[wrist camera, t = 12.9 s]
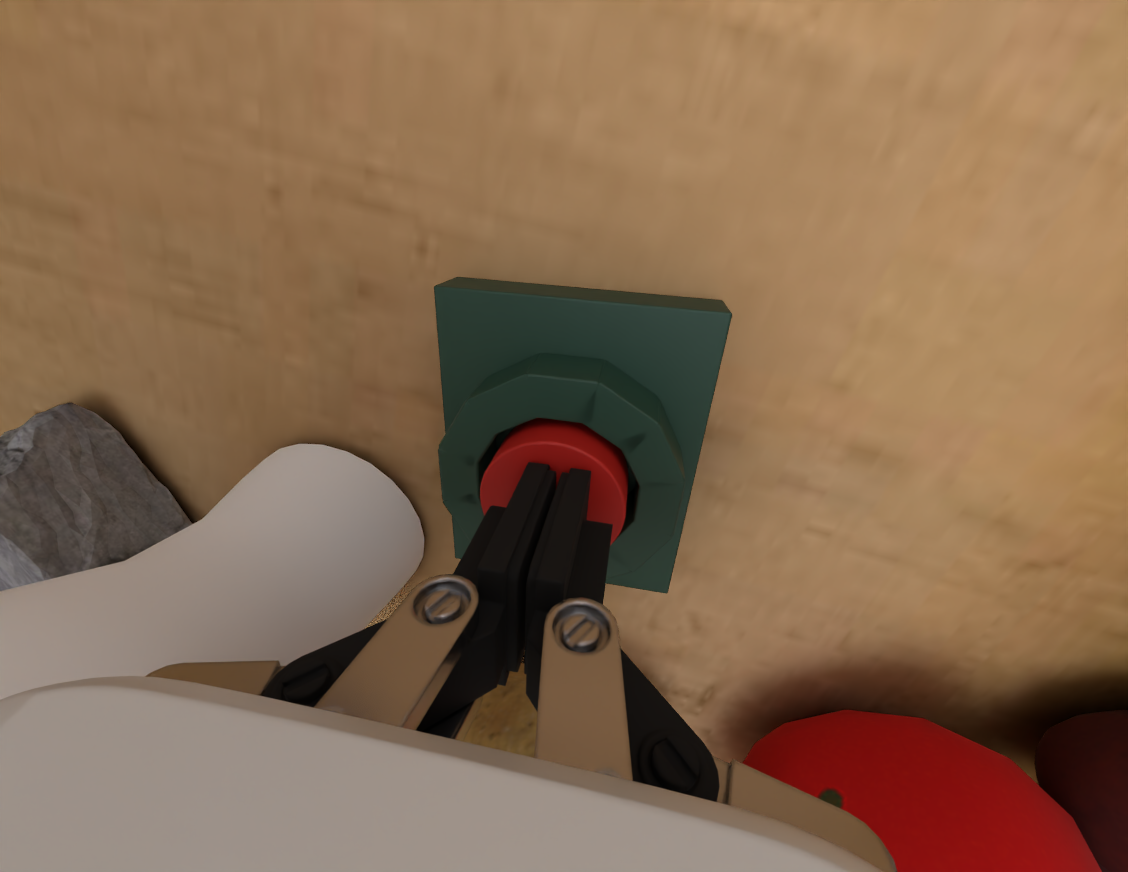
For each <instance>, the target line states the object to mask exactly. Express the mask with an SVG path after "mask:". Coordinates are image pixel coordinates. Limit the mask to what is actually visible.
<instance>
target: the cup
mask: <svg viewBox="0 0 1128 872" xmlns="http://www.w3.org/2000/svg"><path fill="white" fill-rule="evenodd" d="M423 552H424V535H423V531H422V527H421V523H420V519H419V517H418V516H417V514H416V512H415V510H414V508H413V506H412V505H411V503H410V501H409V499H408V498H407V497H406V496H405V495H404V493H403V492H402V491H401V490H400V489H399V488H398V487H397V485H396V484H395V483H394V482H393V481H392V480H391V479H390V478H389V477H387V476H386V475H385V474H383V473H382V472H381V471H380V470H378V469H377V468H376V467H374V466H373V465H372V464H370V463H368V462H367V461H365V460H363V459H361V458H359V457H357V456H355V455H353V454H351V453H349V452H347V451H343V450H340V449H336V448H333V447H329V446H325V445H320V444H296V445H292V446H288V447H284V448H280V449H278V450H277V451H275V452H274V453H272V454H271V455H270V456H268V457H267V458H265V459H264V460H263V461H262V462H261V463H259V464H258V465H257V466H256V467H255V468H254V469H253V470H251V471H250V472H249V473H248V474H247V475H246V476H245V477H243V478H242V479H241V480H240V481H239V482H238V483H237V484H236V485H235V486H234V487H233V488H232V489H231V490H230V491H229V492H228V493H227V494H226V495H225V496H224V497H223V498H222V499H221V500H220V501H219V503H218V504H217V505H216V506H215V507H214V508H213V509H212V510H211V511H210V512H209V513H208V514H207V515H206V516H205V517H204V518H203V519H201V520H199V521H198V522H196V523H194V524H192V525H190V526H188V527H187V528H185V529H183V530H181V531H179V532H177V533H175V534H174V535H172V536H170V537H168V538H166V539H164V540H162V541H161V542H159V543H157V544H155V545H153V546H151V547H150V548H148V549H146V550H144V551H142V552H140V553H138V554H137V555H135V556H133V557H131V558H129V559H127V560H125V561H122V562H118V563H114V564H110V565H106V566H102V567H98V568H94V569H90V570H86V571H81V572H77V573H73V574H69V575H65V576H61V577H57V578H53V579H49V580H45V581H41V582H36V583H32V584H28V585H24V586H20V587H16V588H12V589H8V590H4V591H0V700H1V699H3V698H6V697H8V696H11V695H14V694H17V693H20V692H24V691H27V690H31V689H34V688H39V687H43V686H47V685H51V684H56V683H63V682H69V681H75V680H81V679H88V678H97V677H115V676H142V677H145V676H146V675H148V674H149V673H151V672H153V671H155V670H158V669H160V668H163V667H165V666H167V665H173V664H178V663H194V662H236V661H277V660H279V663H280V665H281V666H286V665H288V664H289V663H290V662H292V661H294V660H296V659H298V658H300V657H301V656H303V655H306V654H308V653H310V652H313V651H315V650H317V649H320V648H322V647H324V646H327V645H329V644H331V643H333V642H336V641H338V640H340V639H343V638H345V637H347V636H350V635H352V634H354V633H357V632H359V631H361V630H364V628H365V627H366V626H367V625H368V624H369V623H370V622H371V621H372V620H373V619H374V618H375V617H376V616H377V615H378V614H379V612H380V611H381V610H382V609H383V608H384V607H385V606H386V605H387V604H388V603H389V602H390V601H391V600H392V599H393V598H394V596H395V595H396V594H397V593H398V592H399V591H400V590H401V589H402V587H403V586H404V585H405V584H406V583H407V581H408V580H409V579H410V578H411V577H412V575H413V574H414V573H415V572H416V570H417V568H418V566H419V564H420V562H421V560H422V558H423Z"/></svg>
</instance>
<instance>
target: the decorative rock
mask: <svg viewBox="0 0 1128 872" xmlns="http://www.w3.org/2000/svg"><path fill="white" fill-rule="evenodd" d="M190 525H192V523H191V521H190V520H189V519H188V517H187V516H186V515H185V513H184V512H183V510H182V509H181V508H180V506H179V505H178V503H177V502H176V500H175V499H174V497H173V496H172V494H171V493H170V492H169V491H168V489H167V488H166V487H165V486H164V485H162V484H161V483H160V482H159V481H158V480H157V479H156V478H155V477H154V475H153V474H152V473H151V472H150V471H149V469H148V468H147V467H146V466H145V465H144V464H143V463H142V462H141V461H140V459H139V458H138V456H137V455H136V453H135V452H134V451H133V450H132V449H131V448H130V447H129V446H128V445H127V443H126V442H125V440H124V439H123V437H122V436H121V434H120V433H119V432H118V431H117V430H116V429H115V428H114V427H112V426H111V425H110V424H109V423H107V422H106V421H105V420H104V419H102V418H101V417H100V416H98V415H97V414H96V413H94V412H92V411H90V410H88V409H85V408H83V407H80V406H78V405H76V404H73V403H67V404H63V405H59V406H56V407H54V408H51V409H49V410H47V411H45V412H41V413H38V414H36V415H34V416H33V417H31V418H30V419H29V420H28V421H27V422H26V423H25V424H24V425H22V426H20V427H19V428H17V429H14V430H10V431H7V432H4V434H3V435H2V436H1V437H0V591H4V590H8V589H12V588H16V587H20V586H24V585H28V584H32V583H36V582H41V581H45V580H49V579H53V578H57V577H61V576H65V575H69V574H73V573H77V572H81V571H86V570H90V569H94V568H98V567H102V566H106V565H110V564H114V563H118V562H122V561H125V560H127V559H129V558H131V557H133V556H135V555H137V554H138V553H140V552H142V551H144V550H146V549H148V548H150V547H151V546H153V545H155V544H157V543H159V542H161V541H162V540H164V539H166V538H168V537H170V536H172V535H174V534H175V533H177V532H179V531H181V530H183V529H185V528H187V527H188V526H190Z"/></svg>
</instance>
